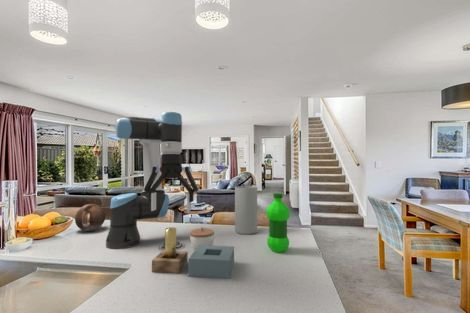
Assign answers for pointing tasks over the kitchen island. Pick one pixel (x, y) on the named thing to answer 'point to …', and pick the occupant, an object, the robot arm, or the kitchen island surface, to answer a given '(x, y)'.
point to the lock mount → (170, 262)
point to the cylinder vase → (246, 209)
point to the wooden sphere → (90, 217)
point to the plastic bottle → (278, 224)
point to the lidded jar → (201, 237)
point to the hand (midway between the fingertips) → (171, 210)
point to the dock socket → (211, 261)
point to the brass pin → (170, 243)
